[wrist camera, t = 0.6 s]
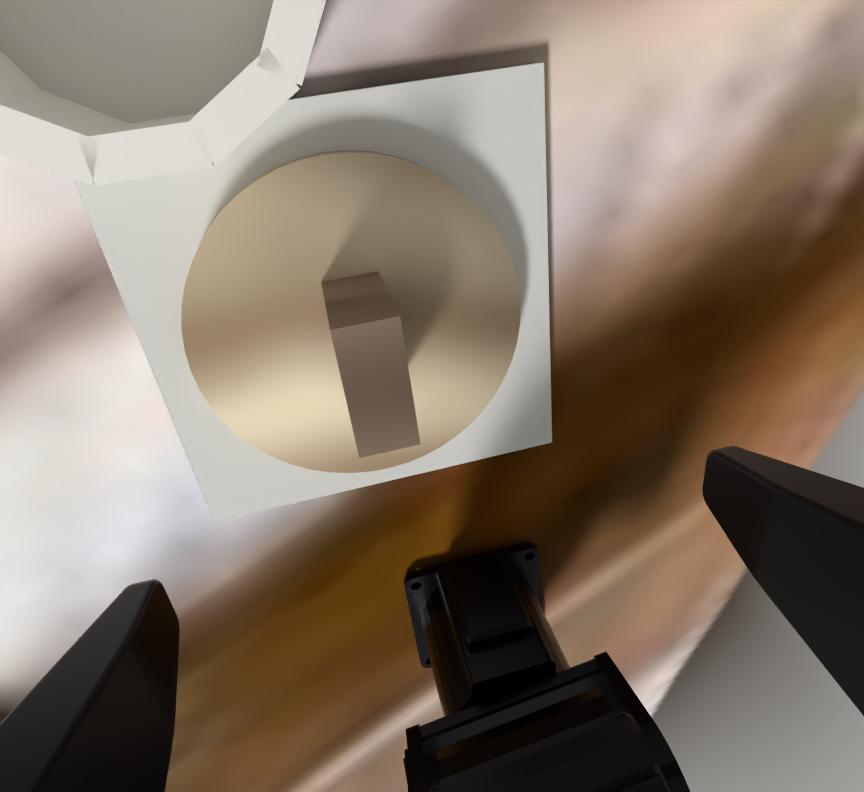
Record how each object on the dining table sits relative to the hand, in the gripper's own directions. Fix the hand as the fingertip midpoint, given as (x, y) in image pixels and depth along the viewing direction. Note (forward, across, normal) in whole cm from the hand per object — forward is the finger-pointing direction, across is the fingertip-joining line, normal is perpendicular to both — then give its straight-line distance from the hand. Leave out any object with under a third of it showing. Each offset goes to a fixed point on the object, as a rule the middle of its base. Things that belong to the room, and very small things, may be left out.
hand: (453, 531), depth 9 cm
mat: (+13, 0, +1) cm, 13 cm away
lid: (+12, 0, +1) cm, 12 cm away
